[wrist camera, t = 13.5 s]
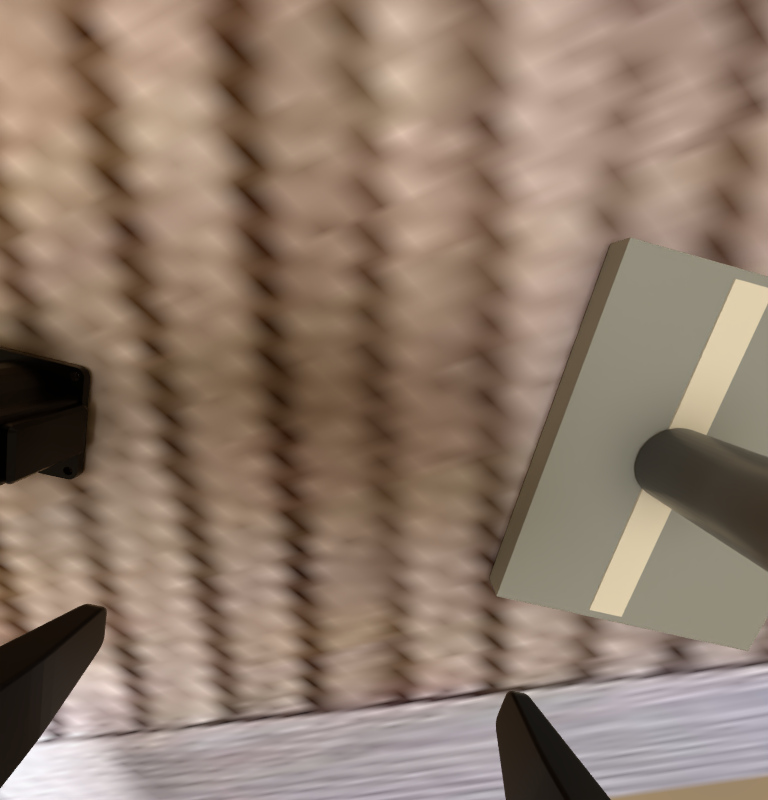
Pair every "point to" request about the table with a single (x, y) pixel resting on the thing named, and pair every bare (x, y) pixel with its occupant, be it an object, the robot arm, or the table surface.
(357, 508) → the table surface
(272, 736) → the table surface
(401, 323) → the table surface
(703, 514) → the bottle
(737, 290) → the board
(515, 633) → the table surface
